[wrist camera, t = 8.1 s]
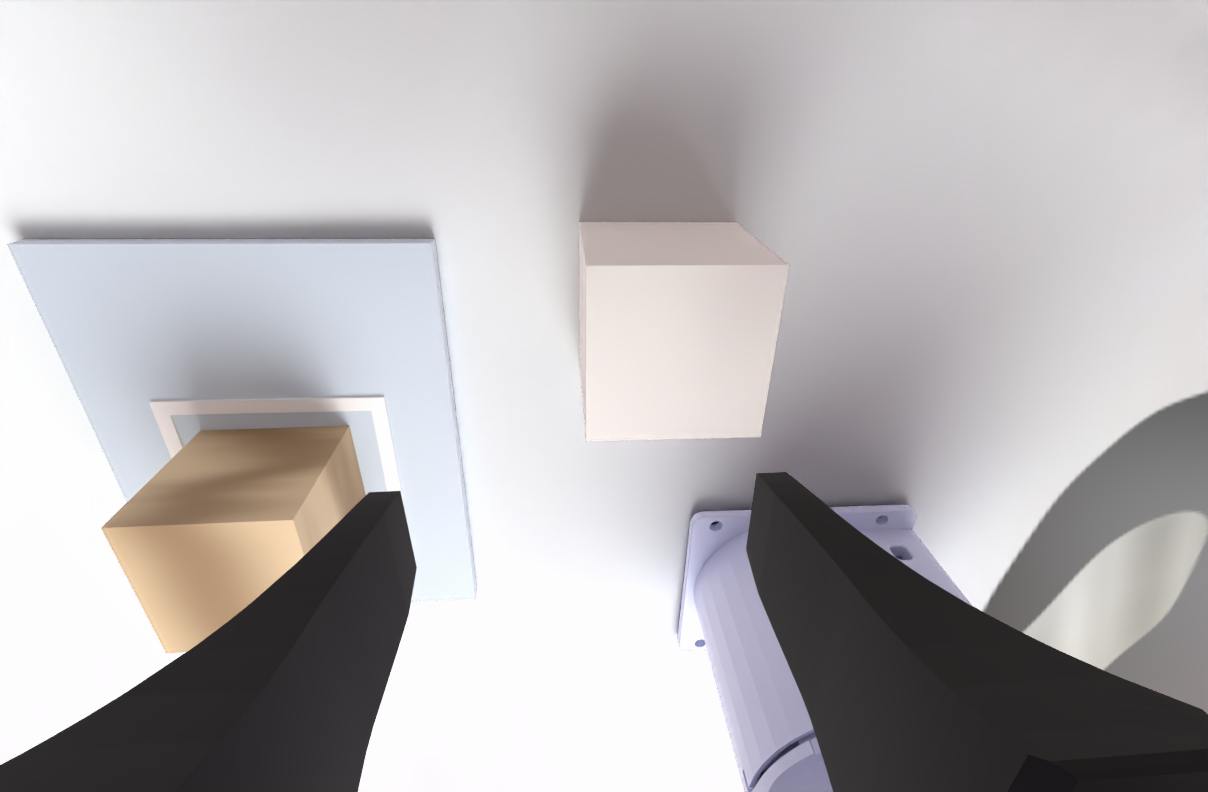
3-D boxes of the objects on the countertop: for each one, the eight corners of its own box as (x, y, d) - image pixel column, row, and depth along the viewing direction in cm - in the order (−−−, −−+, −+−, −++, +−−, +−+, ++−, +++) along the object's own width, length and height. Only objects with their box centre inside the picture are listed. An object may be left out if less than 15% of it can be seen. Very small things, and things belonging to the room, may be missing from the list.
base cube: (349, 425, 20) (292, 519, 16) (375, 535, 23) (332, 643, 18) (200, 430, 20) (101, 527, 16) (242, 541, 23) (166, 653, 18)
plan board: (434, 238, 18) (430, 244, 18) (476, 588, 25) (474, 600, 25) (23, 239, 17) (4, 245, 17) (186, 600, 25) (176, 613, 24)
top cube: (734, 221, 19) (789, 265, 14) (718, 363, 21) (760, 437, 17) (579, 221, 18) (586, 265, 14) (579, 365, 21) (586, 441, 16)
